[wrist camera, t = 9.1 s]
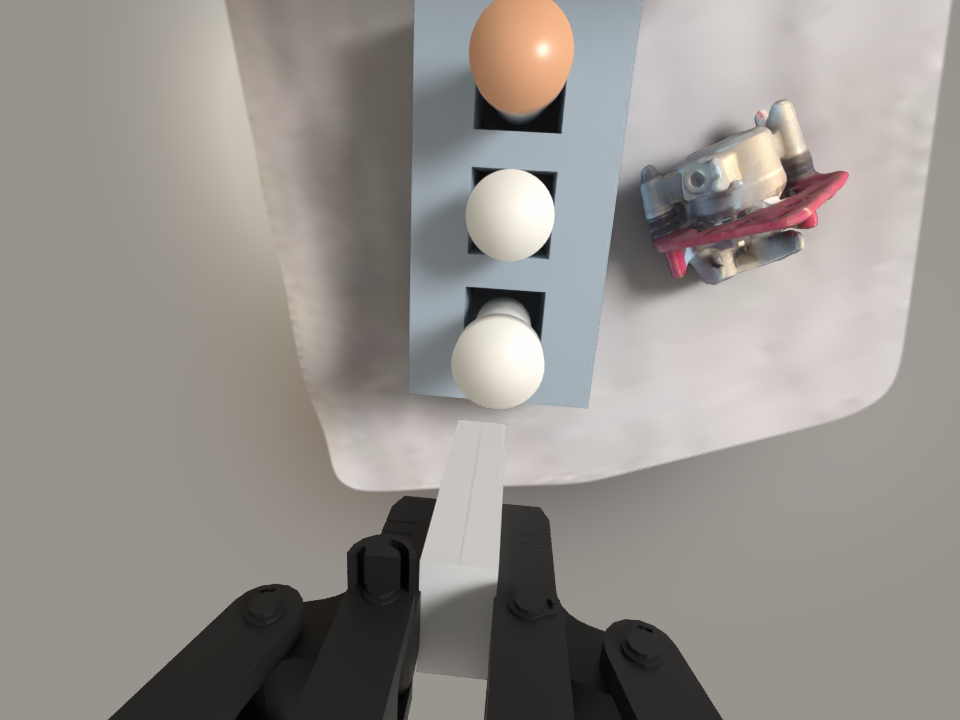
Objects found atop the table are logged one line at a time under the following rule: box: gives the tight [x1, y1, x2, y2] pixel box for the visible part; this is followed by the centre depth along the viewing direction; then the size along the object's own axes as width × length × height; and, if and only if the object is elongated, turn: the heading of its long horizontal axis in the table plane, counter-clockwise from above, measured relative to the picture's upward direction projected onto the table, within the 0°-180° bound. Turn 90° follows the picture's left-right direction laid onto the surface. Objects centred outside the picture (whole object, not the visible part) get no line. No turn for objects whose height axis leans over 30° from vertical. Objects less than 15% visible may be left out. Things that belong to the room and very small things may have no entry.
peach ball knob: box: [469, 0, 574, 125], centre depth 26 cm, size 5×5×9 cm
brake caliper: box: [640, 99, 849, 285], centre depth 32 cm, size 11×11×12 cm
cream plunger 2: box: [451, 297, 544, 409], centre depth 29 cm, size 5×5×9 cm
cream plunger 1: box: [466, 169, 555, 261], centre depth 30 cm, size 5×5×9 cm
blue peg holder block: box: [408, 0, 643, 409], centre depth 33 cm, size 24×12×7 cm, turn 177°
